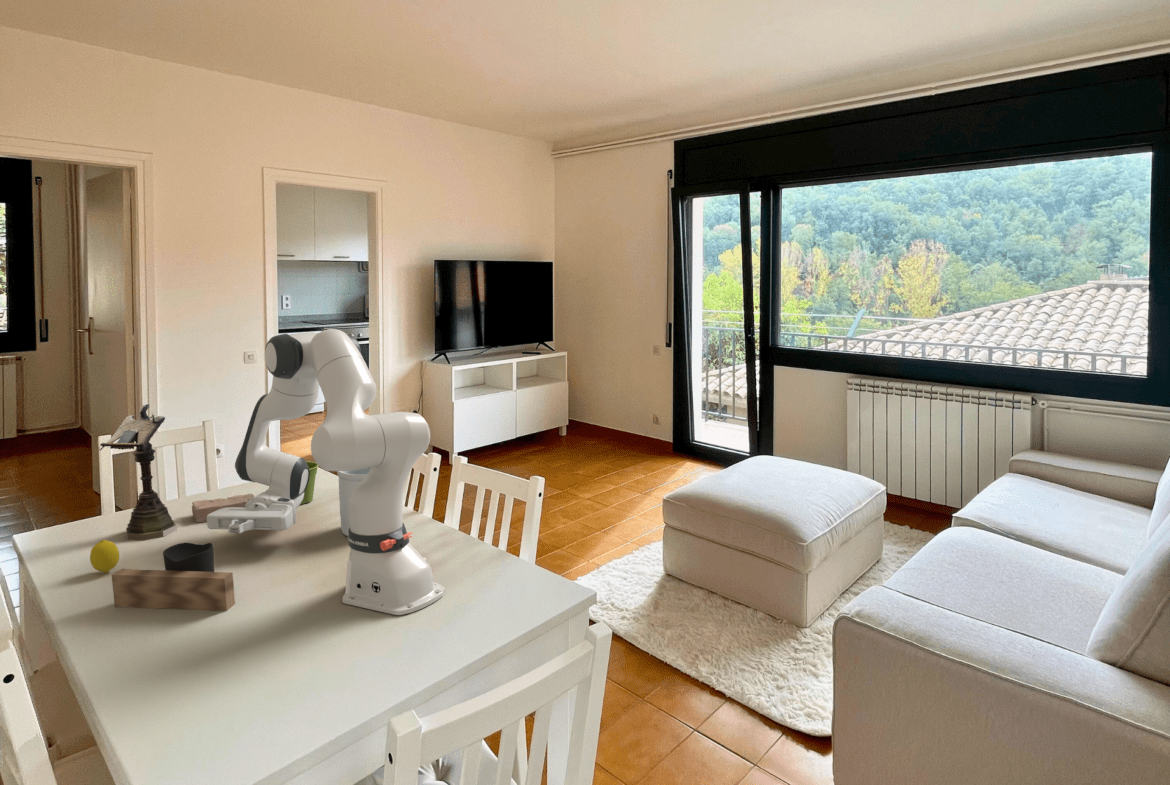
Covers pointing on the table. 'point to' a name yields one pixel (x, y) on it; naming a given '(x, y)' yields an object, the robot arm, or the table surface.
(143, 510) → the ornate lectern
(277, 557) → the table surface
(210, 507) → the brick
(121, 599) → the walnut board
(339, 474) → the utensil holder
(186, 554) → the pen holder
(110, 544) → the lemon
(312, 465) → the plant pot
